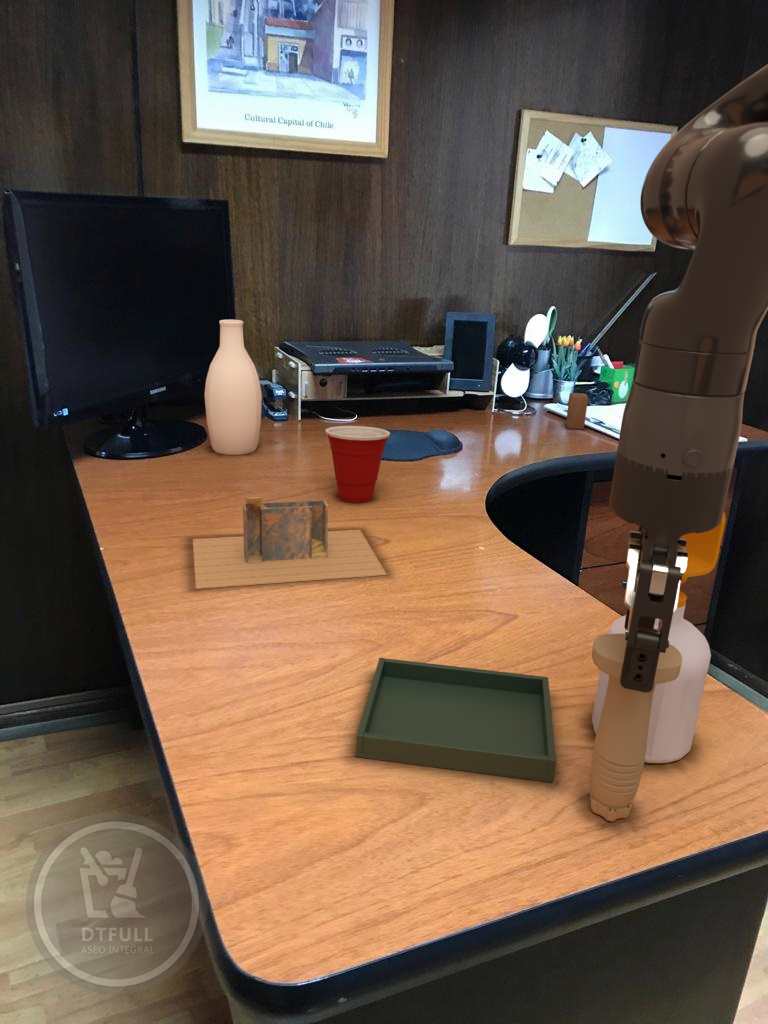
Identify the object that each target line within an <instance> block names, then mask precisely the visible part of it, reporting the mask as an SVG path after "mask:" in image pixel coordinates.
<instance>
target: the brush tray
mask: <svg viewBox="0 0 768 1024" xmlns="http://www.w3.org/2000/svg"><path fill="white" fill-rule="evenodd" d="M355 739H356V742H355V743H356V744H355V757H356V758H361V759H369V760H377V761H384V762H393V763H400V764H406V765H407V764H408V765H415V766H423V767H431V768H437V769H446V770H453V771H461V772H469V773H477V774H483V775H484V774H485V775H491V776H498V777H499V776H500V777H505V778H506V777H507V778H514V779H522V780H529V781H537V782H544V783H553V782H554V776H555V771H556V763H557V757H556V756H557V755H556V747H555V736H554V725H553V715H552V703H551V692H550V682H549V677H548V676H542V675H534V674H525V673H517V672H507V671H499V670H489V669H481V668H473V667H464V666H454V665H446V664H436V663H429V662H422V661H421V662H420V661H411V660H402V659H395V658H385V657H379V658H378V661H377V665H376V668H375V672H374V674H373V678H372V682H371V685H370V689H369V692H368V695H367V699H366V701H365V706H364V709H363V713H362V716H361V719H360V722H359V726H358V729H357V732H356V738H355Z"/></svg>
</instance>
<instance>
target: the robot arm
mask: <svg viewBox="0 0 768 1024" xmlns="http://www.w3.org/2000/svg"><path fill="white" fill-rule="evenodd" d="M639 201H640V203H639V205H640V206H639V207H640V214H641V217H642V221H643V223H644V225H645V227H646V228H647V230H648V232H649V233H650V234H651V235H652V237H654V238H655V239H656V240H658V241H659V242H661V243H662V244H665V245H667V246H669V247H671V248H675V249H680V250H689V251H693V253H692V255H691V258H690V261H689V263H688V266H687V268H686V271H685V274H684V276H683V278H682V280H681V283H680V285H678V288H675V289H674V290H669V291H666V292H662V293H660V294H658V295H656V296H655V297H653V298H652V299H651V300H650V302H649V303H648V305H647V306H646V308H645V311H644V314H643V316H642V320H641V321H642V322H641V326H640V330H639V338H638V344H637V349H636V350H637V351H636V357H635V363H634V369H633V375H632V381H631V385H630V389H629V393H628V396H627V399H626V403H625V406H624V409H623V413H622V419H621V423H620V424H621V425H620V431H619V437H618V443H617V449H616V456H615V462H614V469H613V474H612V481H611V488H610V494H609V499H608V500H609V501H608V503H609V507H610V510H611V511H612V513H613V514H614V515H615V516H617V517H618V518H619V519H621V520H623V521H624V522H626V523H629V524H635V525H637V526H638V531H636V530H629V535H628V542H627V547H626V548H627V549H626V551H627V553H626V554H627V555H626V561H625V566H626V571H627V579H626V585H625V591H624V599H623V605H624V607H625V608H626V614H625V615H626V618H625V626H624V627H625V640H626V641H627V643H626V648H625V654H624V660H623V665H622V671H621V677H620V684H621V686H622V687H624V688H626V689H630V690H635V691H640V692H645V693H647V692H650V691H651V690H652V689H653V684H654V679H655V674H656V669H657V664H658V659H659V654H660V652H661V653H665V652H666V648H668V647H669V641H668V637H669V632H670V627H671V621H672V616H673V614H674V613H675V611H676V610H677V606H678V599H679V591H681V584H680V583H681V580H682V576H683V574H684V573H685V571H686V568H687V560H688V552H685V550H686V544H687V539H683V538H682V536H683V535H685V534H689V533H703V532H707V531H710V530H712V529H714V528H716V527H717V526H718V525H719V524H720V522H721V520H722V516H723V512H724V513H725V506H726V503H727V497H728V493H729V488H730V484H731V479H732V474H733V470H734V465H735V459H736V456H737V452H738V447H739V442H740V436H741V430H742V425H743V424H742V423H743V411H744V400H745V392H746V389H747V385H748V379H749V375H750V371H751V366H752V360H753V356H754V350H755V346H756V345H755V344H756V339H757V333H758V330H759V328H760V326H761V324H762V322H763V320H764V318H765V315H766V314H767V311H768V63H767V64H766V65H764V66H763V67H761V68H760V69H759V70H757V71H756V72H754V73H752V74H751V75H750V76H748V77H747V78H746V79H744V80H743V81H741V82H739V83H738V84H737V85H736V86H735V87H733V88H732V89H730V90H729V91H728V92H726V93H725V94H723V95H722V96H721V97H719V98H718V99H717V100H715V101H714V102H713V103H711V104H710V105H709V106H707V107H706V108H705V109H703V110H702V111H701V112H700V113H698V114H697V115H696V116H695V117H693V118H692V119H691V120H690V121H688V122H687V123H686V124H685V125H683V127H682V128H680V129H679V130H678V131H677V132H676V133H675V134H674V135H673V136H671V138H670V139H669V140H668V141H667V142H666V143H665V145H663V147H662V148H661V150H659V152H658V154H657V155H656V156H655V158H654V159H653V161H652V163H651V164H650V166H649V167H648V170H647V172H646V174H645V177H644V179H643V182H642V187H641V192H640V200H639ZM656 618H657V619H659V624H658V629H654V624H655V619H656Z"/></svg>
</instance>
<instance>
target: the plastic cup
mask: <svg viewBox="0 0 768 1024" xmlns="http://www.w3.org/2000/svg"><path fill="white" fill-rule="evenodd" d="M325 434H326V435H327V437H328V441H329V444H330V451H331V457H332V463H333V469H334V476H335V477H334V478H335V481H336V486H337V495H338V498H339V500H340V501H344V502H346V503H353V504H360V503H367V502H369V501H371V500H372V499H373V496H374V494H375V489H376V485H377V481H378V477H379V471H380V467H381V463H382V457H383V453H384V450H385V445H386V444H387V441H388V439H389V437H390V435H391V432H390V431H389V430H386V429H383V428H379V427H374V426H373V427H372V426H366V425H365V426H364V425H338V426H331V427H327V428H325Z"/></svg>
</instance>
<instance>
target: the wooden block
mask: <svg viewBox="0 0 768 1024" xmlns="http://www.w3.org/2000/svg"><path fill="white" fill-rule="evenodd" d="M568 395H569V397H568V404H567V412H566V418H565V425H566V428H567V429H569V430H570V429H571V430H584V429H585V424H586V416H587V409H588V403H589V397H588V394H587V393H584V392H583V393H582V392H570V393H569V394H568Z"/></svg>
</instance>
